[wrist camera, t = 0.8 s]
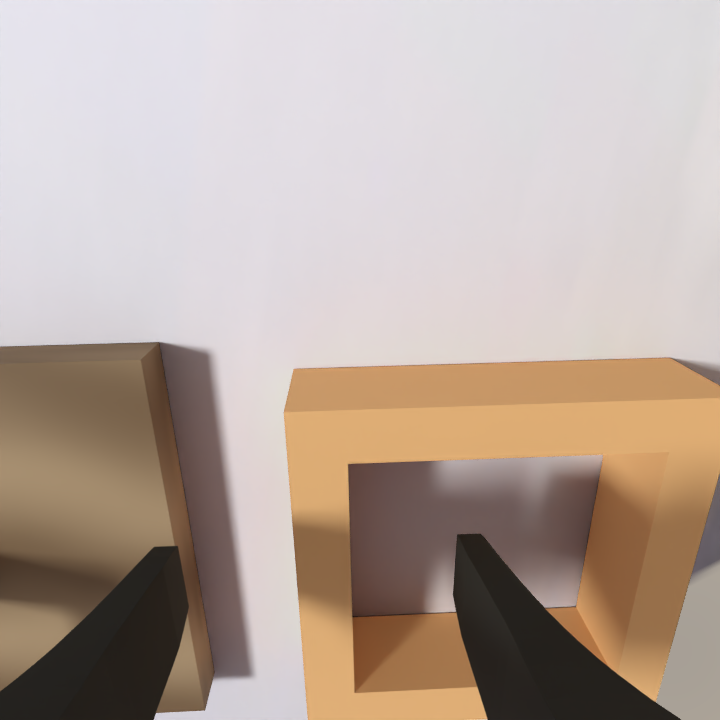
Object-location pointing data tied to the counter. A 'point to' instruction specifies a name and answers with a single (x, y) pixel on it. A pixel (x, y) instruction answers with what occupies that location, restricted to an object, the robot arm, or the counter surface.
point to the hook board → (89, 499)
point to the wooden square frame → (490, 441)
